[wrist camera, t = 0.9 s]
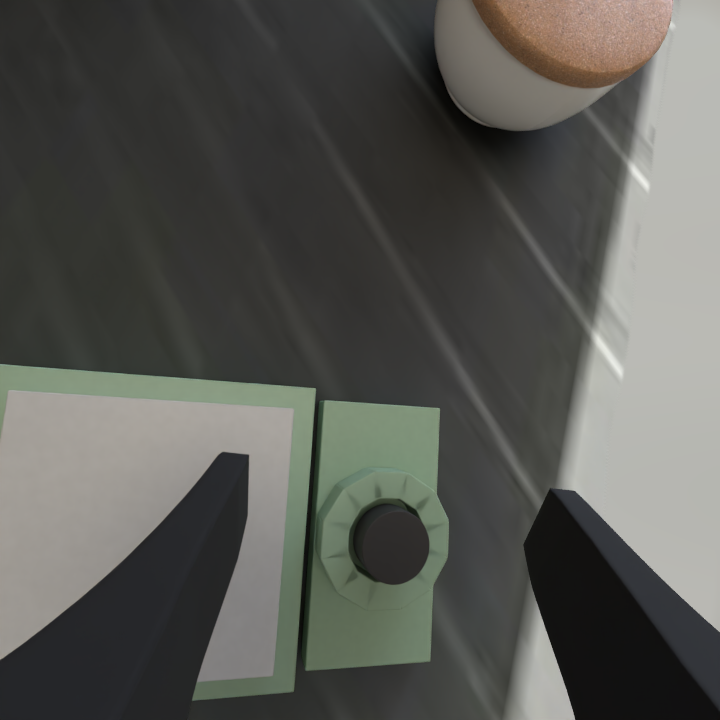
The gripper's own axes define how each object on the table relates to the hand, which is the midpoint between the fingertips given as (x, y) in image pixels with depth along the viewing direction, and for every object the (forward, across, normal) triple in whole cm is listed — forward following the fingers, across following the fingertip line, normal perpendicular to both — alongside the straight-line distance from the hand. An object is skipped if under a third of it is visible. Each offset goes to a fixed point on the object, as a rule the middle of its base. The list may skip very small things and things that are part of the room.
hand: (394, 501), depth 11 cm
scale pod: (+8, -1, +10) cm, 13 cm away
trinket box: (+25, -5, -10) cm, 27 cm away
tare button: (+6, -1, +9) cm, 11 cm away
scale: (+6, +9, +10) cm, 15 cm away
